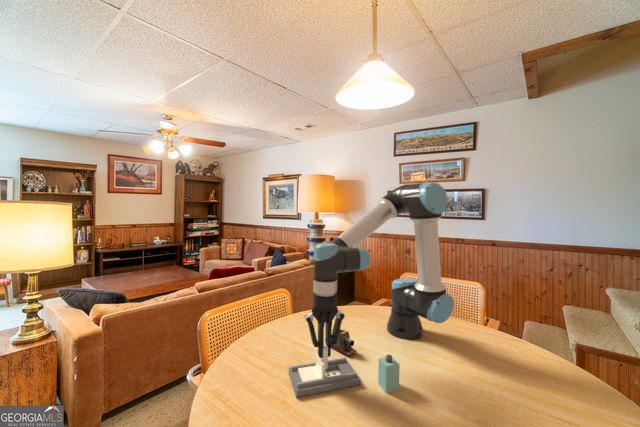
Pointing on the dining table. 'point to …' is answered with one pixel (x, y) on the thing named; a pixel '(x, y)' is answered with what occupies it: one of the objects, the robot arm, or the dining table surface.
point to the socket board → (335, 378)
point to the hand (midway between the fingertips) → (324, 366)
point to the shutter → (313, 370)
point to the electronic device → (344, 343)
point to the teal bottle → (388, 374)
